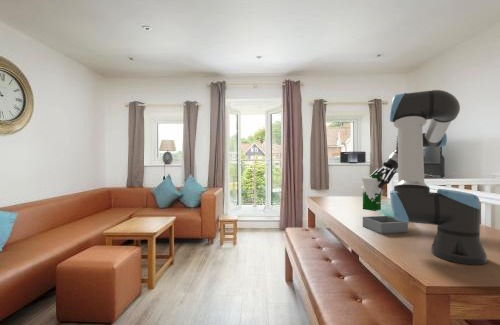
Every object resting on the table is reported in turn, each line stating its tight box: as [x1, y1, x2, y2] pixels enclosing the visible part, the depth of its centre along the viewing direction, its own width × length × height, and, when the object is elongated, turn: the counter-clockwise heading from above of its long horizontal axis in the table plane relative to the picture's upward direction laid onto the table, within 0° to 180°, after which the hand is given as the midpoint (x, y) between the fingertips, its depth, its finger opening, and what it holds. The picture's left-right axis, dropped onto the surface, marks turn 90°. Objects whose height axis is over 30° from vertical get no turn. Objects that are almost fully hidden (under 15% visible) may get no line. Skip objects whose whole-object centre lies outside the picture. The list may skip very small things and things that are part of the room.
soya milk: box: [361, 173, 382, 212], centre depth 144 cm, size 9×9×20 cm
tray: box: [362, 215, 409, 235], centre depth 125 cm, size 14×14×5 cm
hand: (368, 190), depth 144 cm, fingers closed on soya milk, 9 cm apart
